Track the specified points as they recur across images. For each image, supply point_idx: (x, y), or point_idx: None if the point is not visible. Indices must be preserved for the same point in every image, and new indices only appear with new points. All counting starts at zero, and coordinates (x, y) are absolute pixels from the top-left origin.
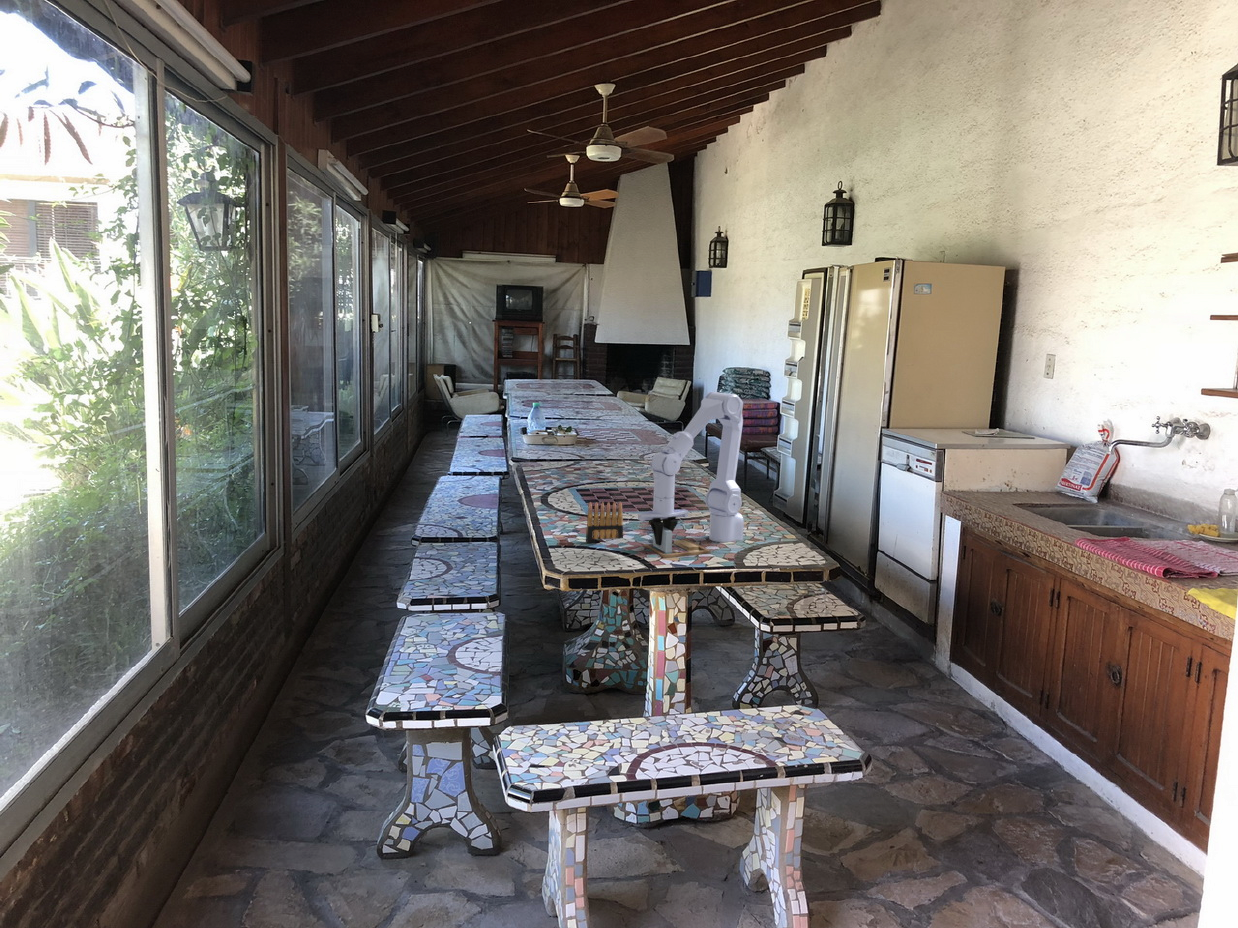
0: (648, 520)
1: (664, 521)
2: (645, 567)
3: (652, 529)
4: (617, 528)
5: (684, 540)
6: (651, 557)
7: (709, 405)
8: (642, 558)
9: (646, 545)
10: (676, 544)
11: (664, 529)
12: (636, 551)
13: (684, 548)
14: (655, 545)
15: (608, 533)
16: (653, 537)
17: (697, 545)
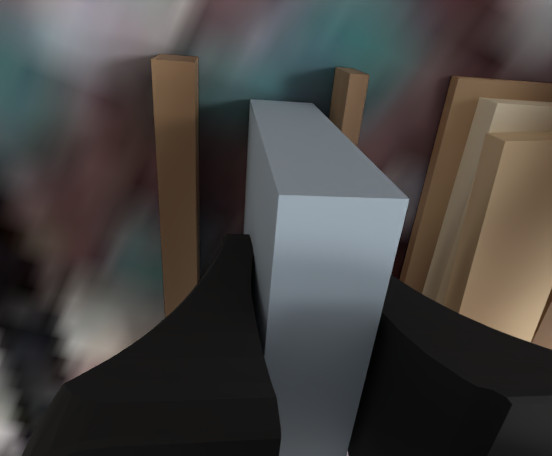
0: (37, 429)
1: (420, 436)
2: (6, 449)
3: (172, 315)
4: None
5: None
6: (132, 293)
7: None
8: (48, 295)
9: (165, 116)
10: (476, 175)
11: (293, 452)
12: (61, 87)
13: (443, 294)
14: (250, 171)
15: None
16: (259, 139)
17: (548, 322)
